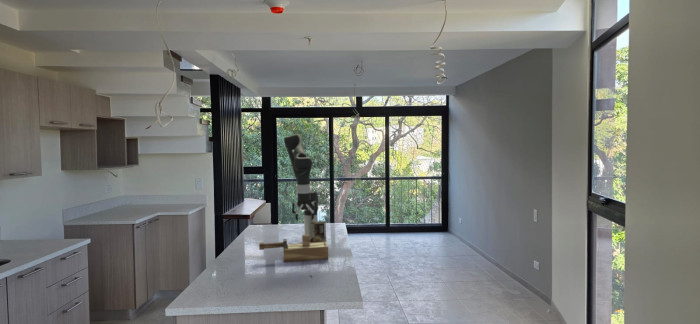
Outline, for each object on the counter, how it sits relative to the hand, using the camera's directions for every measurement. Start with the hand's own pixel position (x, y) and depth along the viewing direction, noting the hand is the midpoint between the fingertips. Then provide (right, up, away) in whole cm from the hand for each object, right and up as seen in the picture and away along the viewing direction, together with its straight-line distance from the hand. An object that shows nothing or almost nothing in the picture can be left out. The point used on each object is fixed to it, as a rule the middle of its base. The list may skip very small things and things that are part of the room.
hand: (304, 219), depth 224 cm
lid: (+1, -16, +1) cm, 16 cm away
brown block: (-18, -16, -3) cm, 24 cm away
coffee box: (+6, -21, +21) cm, 31 cm away
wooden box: (+1, -22, +1) cm, 22 cm away
